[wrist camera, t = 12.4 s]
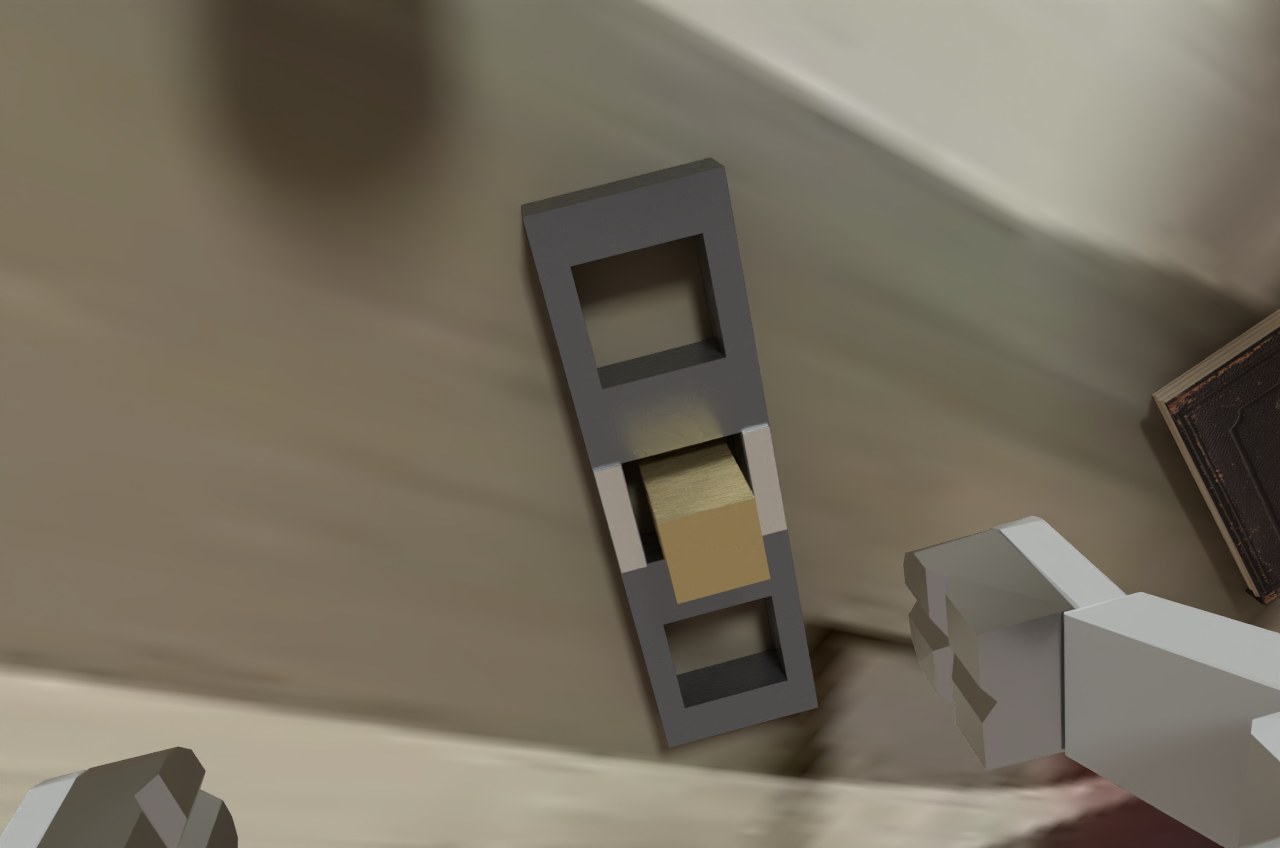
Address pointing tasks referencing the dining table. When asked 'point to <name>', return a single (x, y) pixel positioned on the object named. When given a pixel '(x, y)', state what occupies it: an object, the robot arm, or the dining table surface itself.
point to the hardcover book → (1236, 446)
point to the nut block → (704, 519)
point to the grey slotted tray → (677, 432)
